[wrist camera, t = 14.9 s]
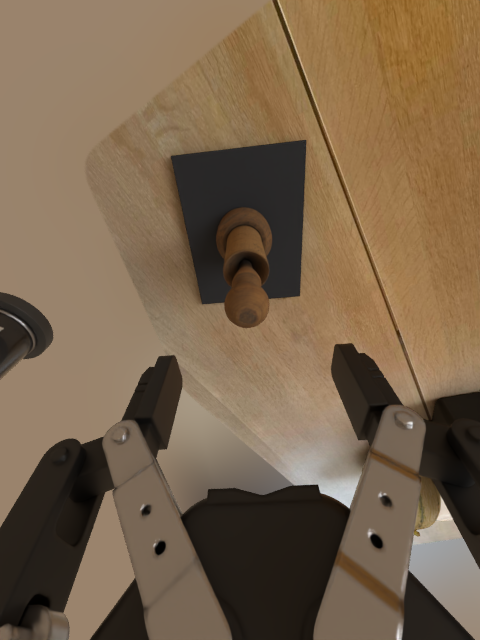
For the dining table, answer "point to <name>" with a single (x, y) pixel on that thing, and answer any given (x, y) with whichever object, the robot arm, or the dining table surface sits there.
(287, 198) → the mat
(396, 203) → the dining table surface
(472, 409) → the flower pot
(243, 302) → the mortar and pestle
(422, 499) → the cantaloupe
